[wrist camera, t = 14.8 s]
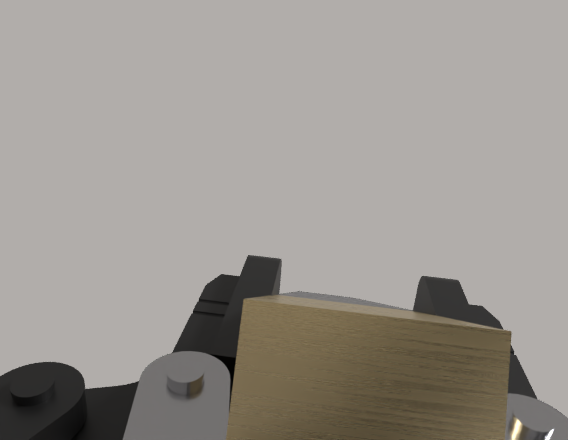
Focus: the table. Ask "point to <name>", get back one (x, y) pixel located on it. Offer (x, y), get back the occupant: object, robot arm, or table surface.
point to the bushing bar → (364, 373)
